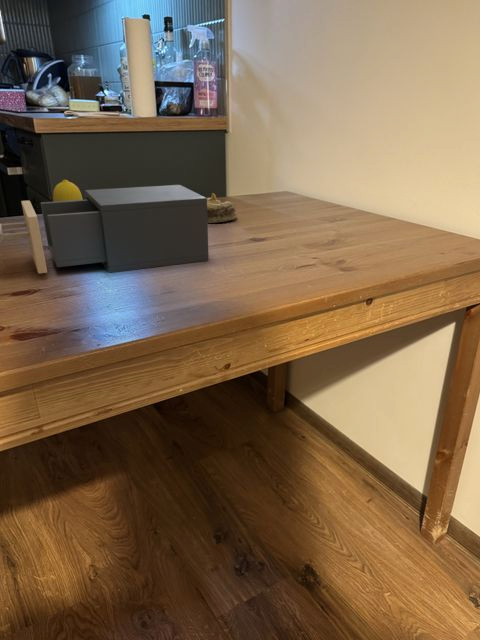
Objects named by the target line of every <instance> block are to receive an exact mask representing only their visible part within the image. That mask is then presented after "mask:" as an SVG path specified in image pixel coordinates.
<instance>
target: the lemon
mask: <svg viewBox="0 0 480 640" xmlns="http://www.w3.org/2000/svg"><path fill="white" fill-rule="evenodd" d="M52 193H53V194H52V197H53V198H52V200H53V201H52V202H56V201H72V200H84V199H83V196H82V192H81V190H80V189H79V187H78V186H77V185H76V184H75V183H73V182H70V181H69V180H67V179H63V180H62V181H61V182H58V183H57V184H56V185H55V187H54V189H53V192H52Z"/></svg>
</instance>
